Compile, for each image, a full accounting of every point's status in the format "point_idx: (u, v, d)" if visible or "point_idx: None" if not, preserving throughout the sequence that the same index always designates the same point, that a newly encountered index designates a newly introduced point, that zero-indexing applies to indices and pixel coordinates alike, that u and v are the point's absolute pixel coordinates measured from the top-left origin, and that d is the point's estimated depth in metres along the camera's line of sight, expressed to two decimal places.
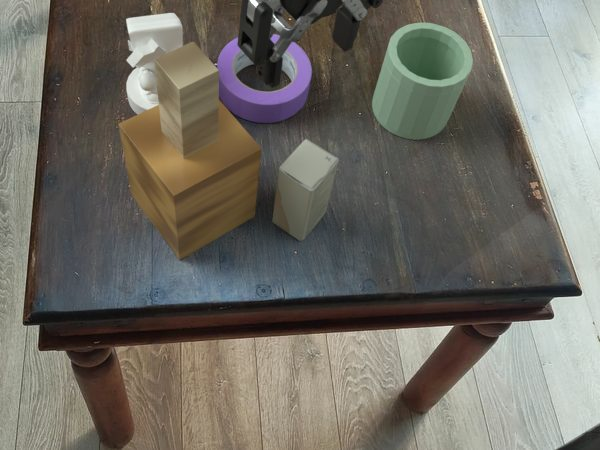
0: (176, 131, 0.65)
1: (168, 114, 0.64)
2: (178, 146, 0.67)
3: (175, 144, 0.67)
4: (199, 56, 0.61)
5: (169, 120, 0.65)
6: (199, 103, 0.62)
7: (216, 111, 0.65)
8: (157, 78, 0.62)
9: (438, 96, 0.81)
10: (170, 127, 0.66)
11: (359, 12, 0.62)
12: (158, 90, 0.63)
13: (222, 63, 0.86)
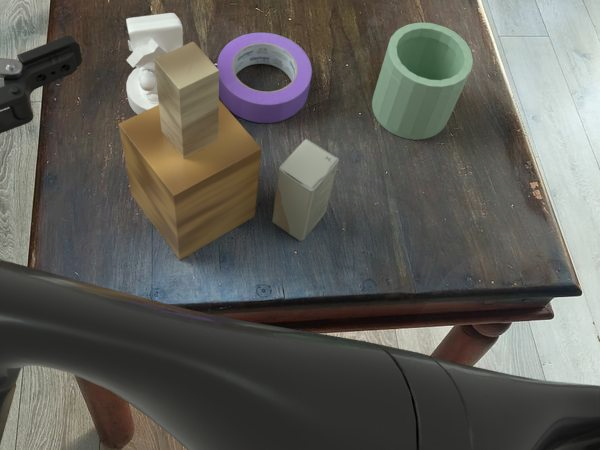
0: (176, 131, 0.65)
1: (168, 114, 0.64)
2: (178, 146, 0.67)
3: (175, 144, 0.67)
4: (199, 56, 0.61)
5: (169, 120, 0.65)
6: (199, 103, 0.62)
7: (216, 111, 0.65)
8: (157, 78, 0.62)
9: (438, 96, 0.81)
10: (170, 127, 0.66)
11: None
12: (158, 90, 0.63)
13: (222, 63, 0.86)
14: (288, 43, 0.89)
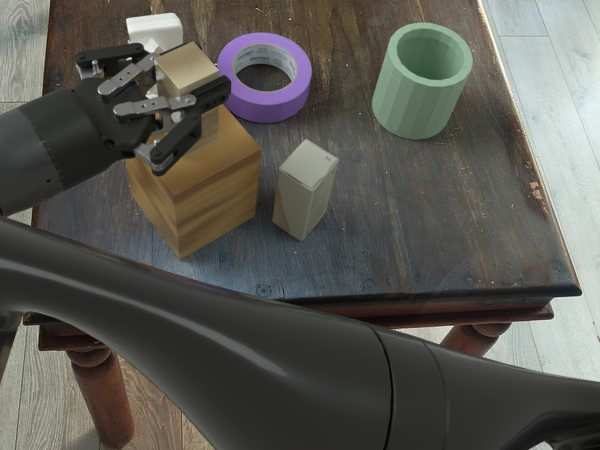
0: None
1: None
2: None
3: None
4: (199, 56, 0.61)
5: None
6: None
7: (216, 111, 0.65)
8: (157, 78, 0.62)
9: (438, 96, 0.81)
10: None
11: (148, 61, 0.61)
12: (158, 90, 0.63)
13: (222, 63, 0.86)
14: (288, 43, 0.89)
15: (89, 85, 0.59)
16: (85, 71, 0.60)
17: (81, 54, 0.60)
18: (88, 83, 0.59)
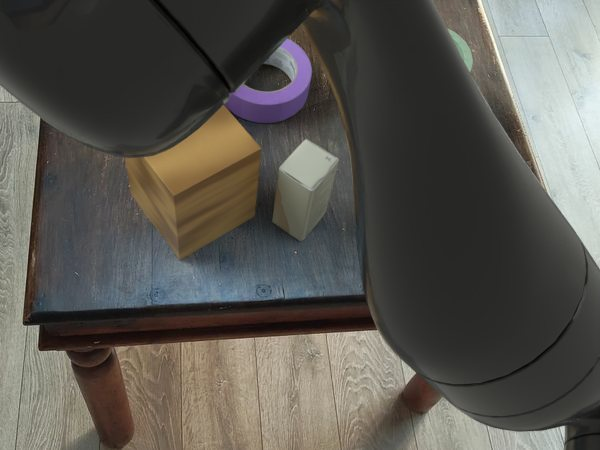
0: None
1: None
2: None
3: None
4: None
5: None
6: None
7: None
8: None
9: None
10: None
11: None
12: None
13: None
14: (288, 43, 0.89)
15: None
16: None
17: None
18: None
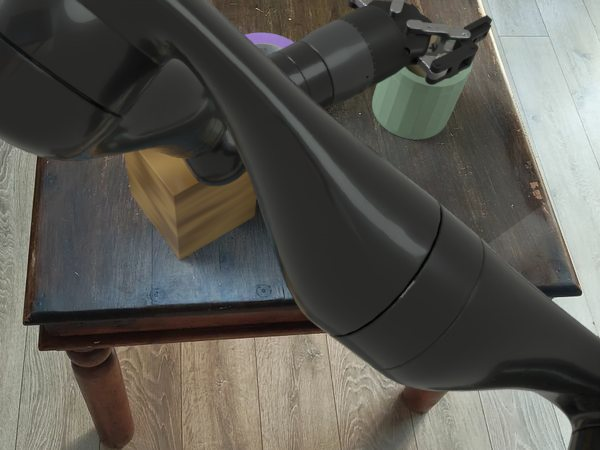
0: None
1: None
2: None
3: None
4: None
5: None
6: None
7: None
8: None
9: (438, 96, 0.81)
10: None
11: None
12: None
13: None
14: (288, 43, 0.89)
15: (379, 6, 0.73)
16: None
17: None
18: (377, 4, 0.73)
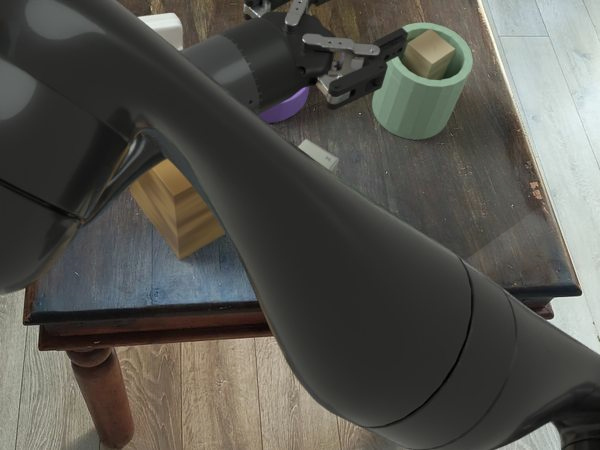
0: None
1: None
2: None
3: None
4: (438, 39, 0.82)
5: None
6: (436, 74, 0.83)
7: None
8: (405, 58, 0.83)
9: (438, 96, 0.81)
10: None
11: None
12: None
13: None
14: None
15: (274, 17, 0.62)
16: (257, 9, 0.64)
17: None
18: (271, 16, 0.62)
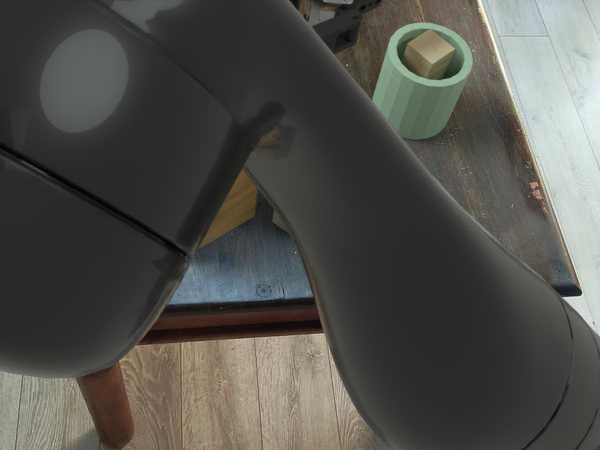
0: None
1: None
2: None
3: None
4: (438, 39, 0.82)
5: None
6: (436, 74, 0.83)
7: None
8: (405, 58, 0.83)
9: (438, 96, 0.81)
10: None
11: None
12: None
13: None
14: None
15: None
16: None
17: None
18: None
